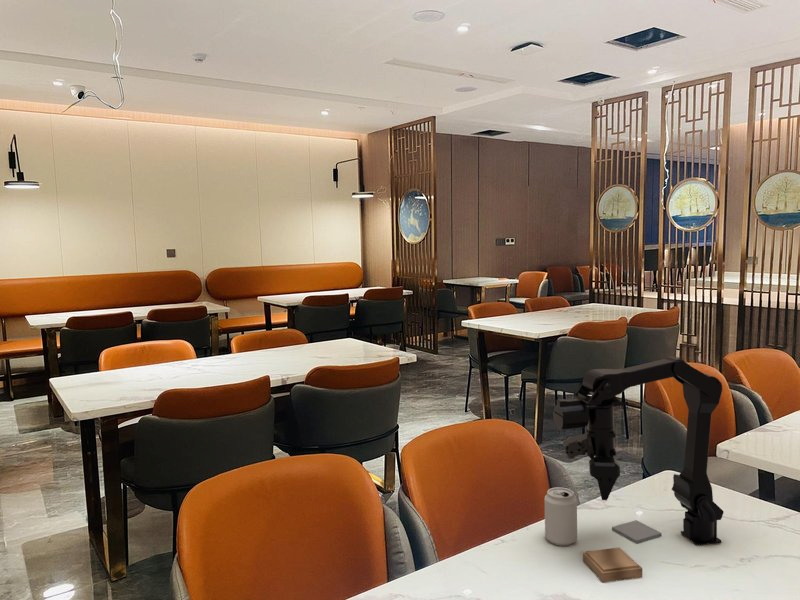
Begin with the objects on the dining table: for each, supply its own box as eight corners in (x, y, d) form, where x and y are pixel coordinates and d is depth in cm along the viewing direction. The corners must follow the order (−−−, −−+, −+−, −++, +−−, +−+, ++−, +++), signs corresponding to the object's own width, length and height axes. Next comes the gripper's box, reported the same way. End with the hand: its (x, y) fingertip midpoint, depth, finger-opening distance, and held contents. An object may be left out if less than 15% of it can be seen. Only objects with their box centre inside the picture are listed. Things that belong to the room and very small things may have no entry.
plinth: (620, 556, 139) (620, 545, 139) (642, 577, 130) (642, 566, 130) (583, 561, 138) (582, 550, 137) (602, 582, 129) (602, 571, 128)
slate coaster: (636, 523, 155) (636, 520, 155) (661, 536, 148) (661, 532, 148) (611, 530, 152) (611, 526, 152) (636, 543, 145) (636, 540, 145)
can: (578, 548, 143) (578, 498, 142) (545, 546, 145) (544, 497, 144) (576, 533, 151) (575, 486, 150) (544, 531, 152) (544, 484, 151)
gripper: (563, 413, 151) (566, 475, 153) (565, 437, 133) (567, 507, 135) (611, 414, 149) (613, 477, 150) (619, 438, 131) (621, 509, 132)
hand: (602, 491), depth 142 cm, fingers open, 9 cm apart
